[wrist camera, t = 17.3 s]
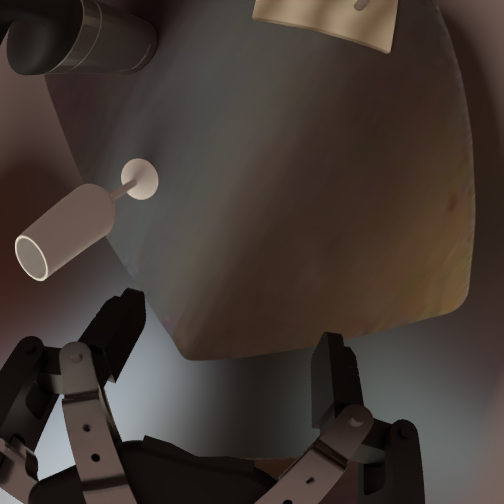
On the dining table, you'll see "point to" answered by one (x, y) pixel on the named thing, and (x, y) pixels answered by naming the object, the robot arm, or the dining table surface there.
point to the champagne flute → (79, 221)
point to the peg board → (335, 18)
